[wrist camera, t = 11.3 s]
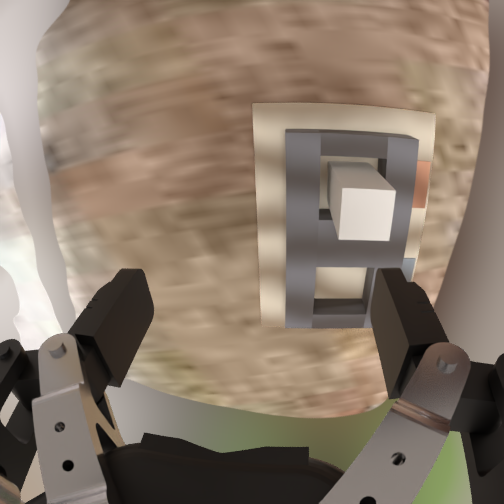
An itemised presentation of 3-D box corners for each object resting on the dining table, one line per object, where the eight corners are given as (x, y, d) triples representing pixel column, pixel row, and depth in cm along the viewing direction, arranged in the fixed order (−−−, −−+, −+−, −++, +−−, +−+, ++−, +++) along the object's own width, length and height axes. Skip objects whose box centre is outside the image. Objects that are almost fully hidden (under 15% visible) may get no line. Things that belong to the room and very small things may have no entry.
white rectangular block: (328, 160, 30) (342, 187, 22) (368, 162, 29) (395, 190, 21) (326, 199, 32) (338, 239, 24) (365, 201, 31) (389, 241, 23)
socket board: (253, 102, 29) (248, 104, 25) (431, 112, 27) (449, 117, 23) (261, 321, 41) (258, 342, 38) (398, 321, 39) (406, 341, 35)
